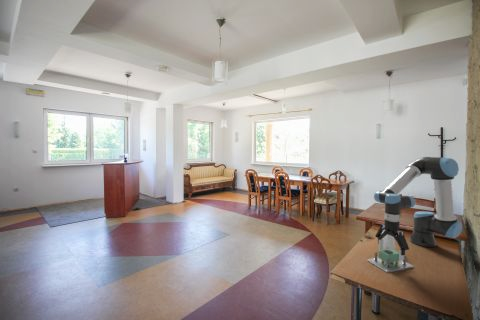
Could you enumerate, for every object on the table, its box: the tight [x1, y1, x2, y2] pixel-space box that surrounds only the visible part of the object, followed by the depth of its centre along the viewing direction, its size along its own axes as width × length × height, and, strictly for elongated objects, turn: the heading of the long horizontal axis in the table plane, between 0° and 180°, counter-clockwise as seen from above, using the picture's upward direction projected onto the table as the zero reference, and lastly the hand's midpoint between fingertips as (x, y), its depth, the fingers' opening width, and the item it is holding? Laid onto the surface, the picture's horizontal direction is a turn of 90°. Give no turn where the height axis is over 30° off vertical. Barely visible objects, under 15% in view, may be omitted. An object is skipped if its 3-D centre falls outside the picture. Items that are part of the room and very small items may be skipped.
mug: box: [382, 229, 396, 251], centre depth 159 cm, size 12×8×12 cm
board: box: [378, 249, 400, 262], centre depth 141 cm, size 10×6×5 cm, turn 108°
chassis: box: [366, 251, 415, 274], centre depth 141 cm, size 20×14×6 cm
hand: (390, 254), depth 141 cm, fingers open, 13 cm apart
